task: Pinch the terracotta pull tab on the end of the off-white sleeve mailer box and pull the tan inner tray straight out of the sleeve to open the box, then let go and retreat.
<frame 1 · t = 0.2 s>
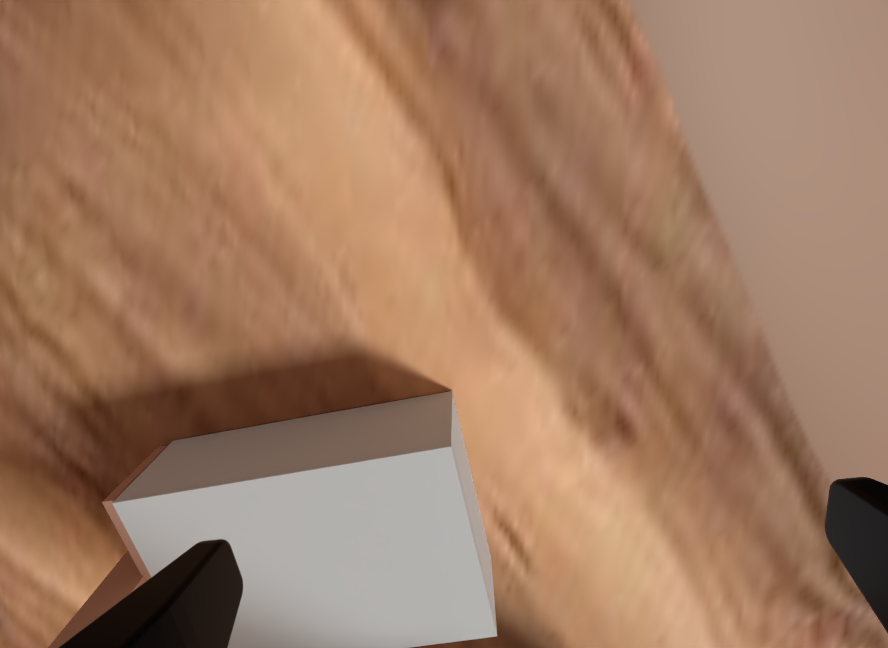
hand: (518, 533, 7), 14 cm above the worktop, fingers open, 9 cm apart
mailer tray: (271, 592, 20), point 5 cm above the worktop, slide at 0.0 cm
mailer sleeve: (338, 500, 25), on the worktop
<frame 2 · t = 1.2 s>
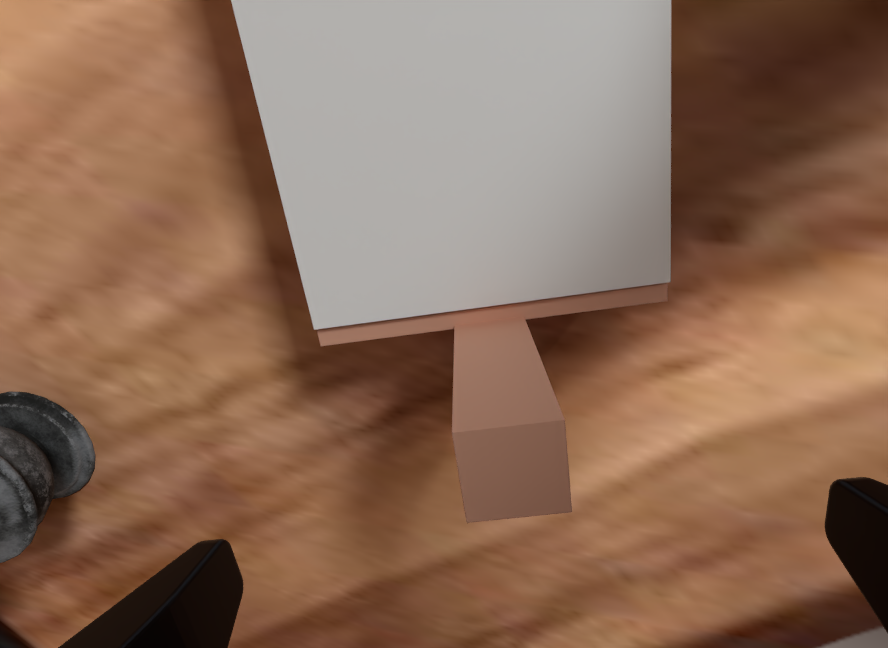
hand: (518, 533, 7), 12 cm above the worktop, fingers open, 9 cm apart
mailer tray: (461, 93, 11), point 5 cm above the worktop, slide at 0.0 cm
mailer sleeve: (453, 57, 16), on the worktop
dark grey ridged piece: (37, 443, 21), on the worktop
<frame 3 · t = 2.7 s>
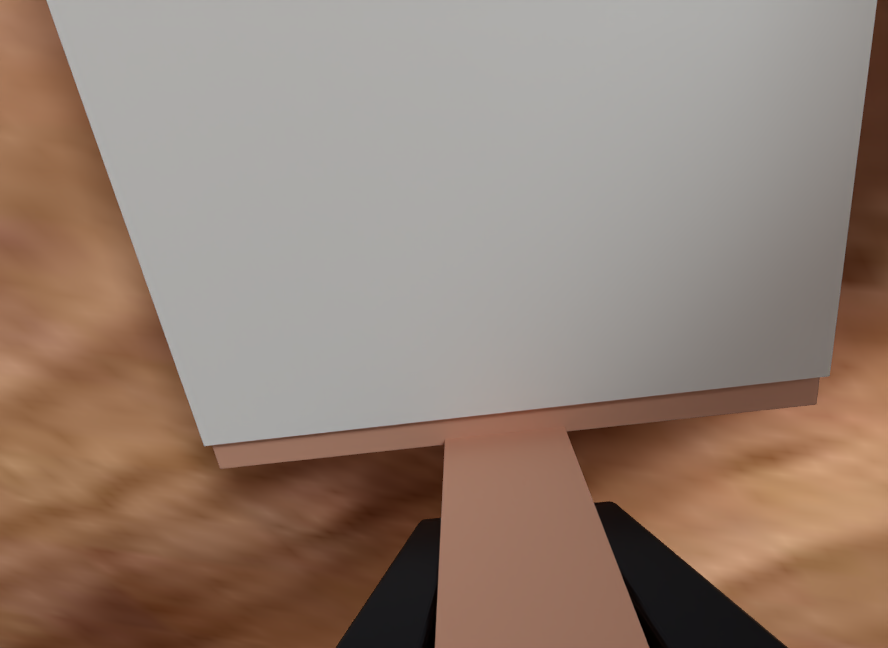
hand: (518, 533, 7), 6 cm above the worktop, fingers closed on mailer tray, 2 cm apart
mailer tray: (456, 17, 5), point 5 cm above the worktop, slide at 0.0 cm, touching gripper
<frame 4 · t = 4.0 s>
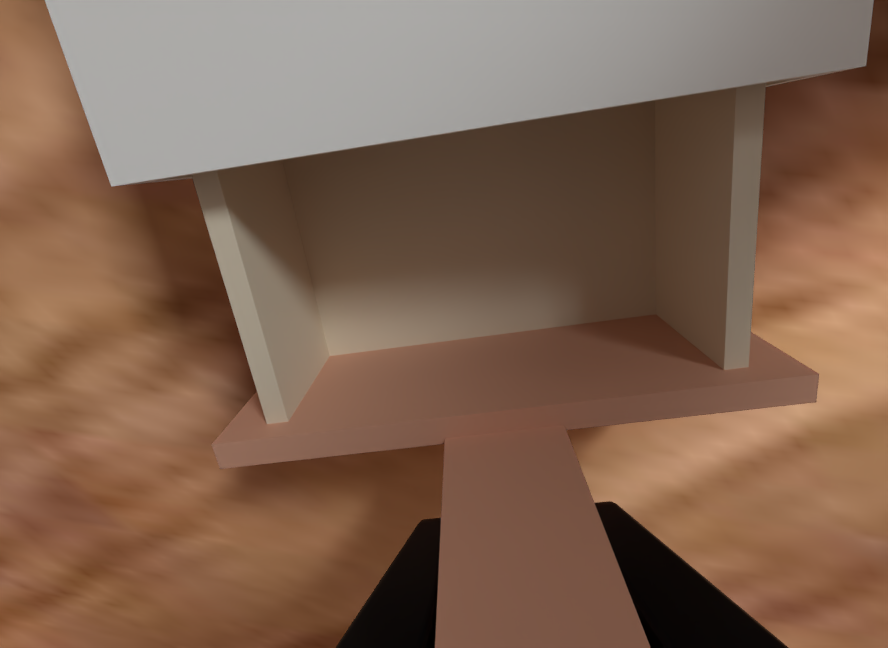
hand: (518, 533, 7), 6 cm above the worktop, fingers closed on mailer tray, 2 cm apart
mailer tray: (454, 15, 5), point 5 cm above the worktop, slide at 4.3 cm, touching gripper
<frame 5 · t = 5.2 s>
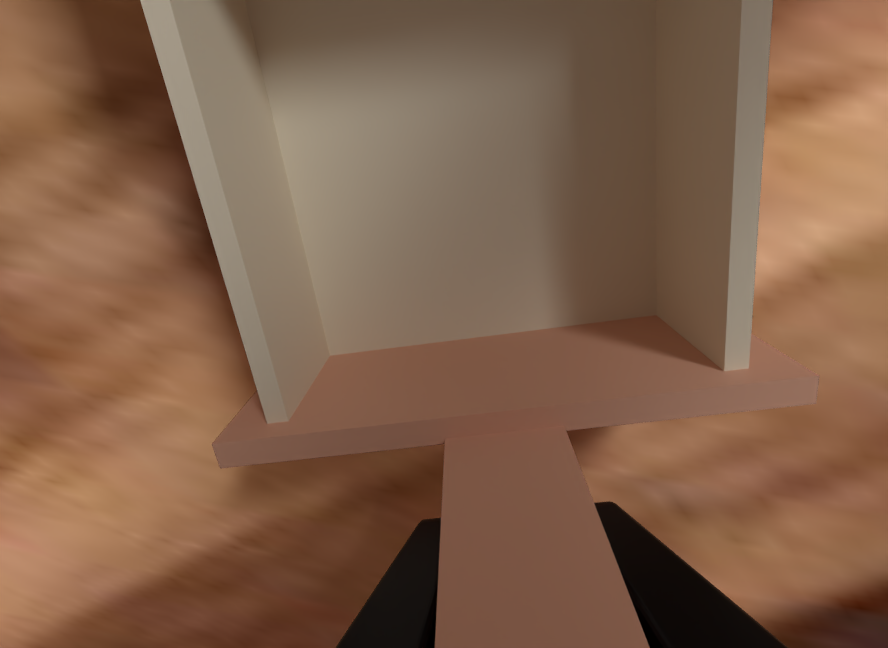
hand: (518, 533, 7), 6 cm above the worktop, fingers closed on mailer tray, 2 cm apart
mailer tray: (456, 16, 5), point 5 cm above the worktop, slide at 8.9 cm, touching gripper
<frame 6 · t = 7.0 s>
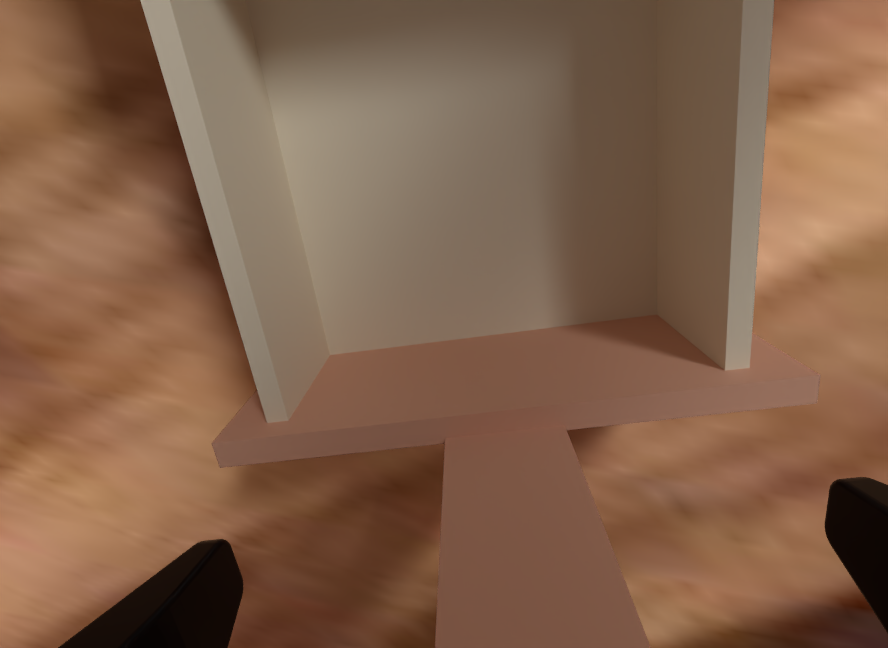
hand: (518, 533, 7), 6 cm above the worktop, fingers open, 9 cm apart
mailer tray: (456, 14, 5), point 5 cm above the worktop, slide at 9.0 cm
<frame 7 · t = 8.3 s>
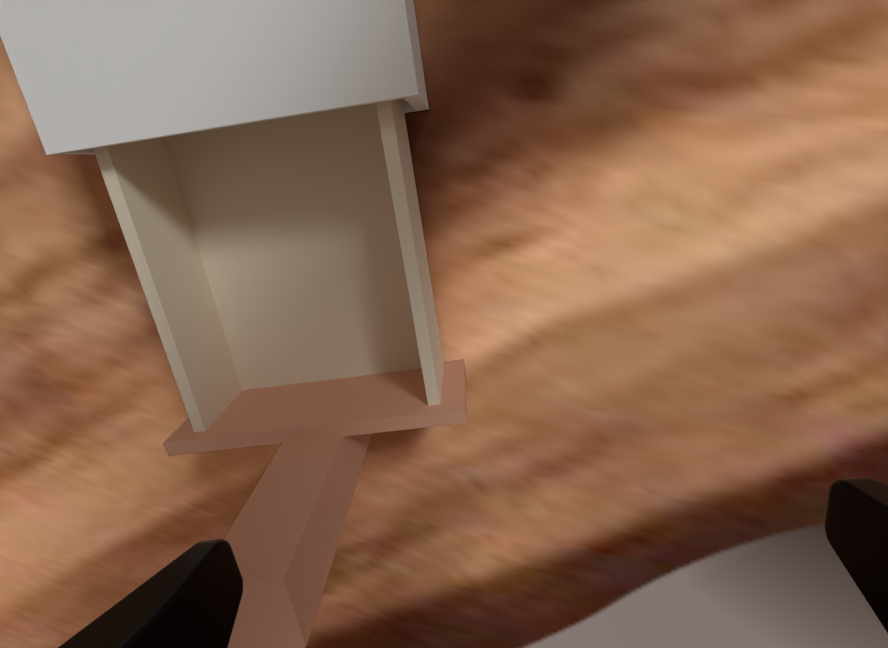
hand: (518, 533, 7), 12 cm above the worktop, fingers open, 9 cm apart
mailer tray: (253, 266, 13), point 5 cm above the worktop, slide at 9.0 cm
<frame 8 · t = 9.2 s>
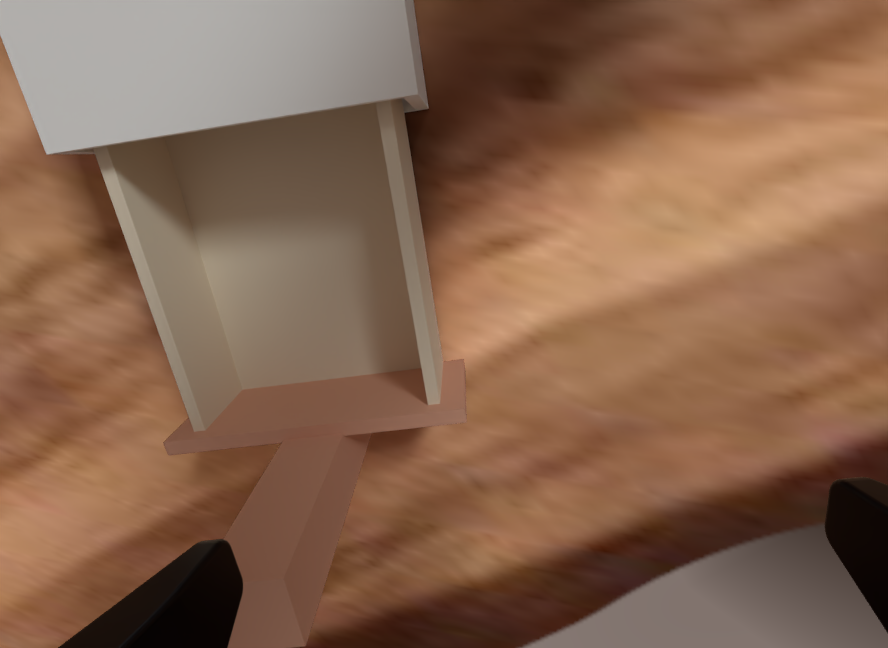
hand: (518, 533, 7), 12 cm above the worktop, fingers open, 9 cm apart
mailer tray: (253, 265, 13), point 5 cm above the worktop, slide at 9.0 cm
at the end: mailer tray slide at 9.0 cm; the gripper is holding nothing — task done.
